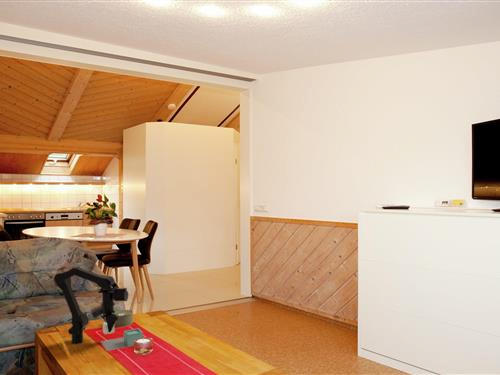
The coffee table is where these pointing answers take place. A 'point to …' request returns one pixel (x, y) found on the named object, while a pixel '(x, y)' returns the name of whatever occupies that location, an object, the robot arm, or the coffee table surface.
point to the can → (123, 318)
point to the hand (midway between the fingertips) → (108, 330)
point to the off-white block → (105, 329)
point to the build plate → (123, 340)
